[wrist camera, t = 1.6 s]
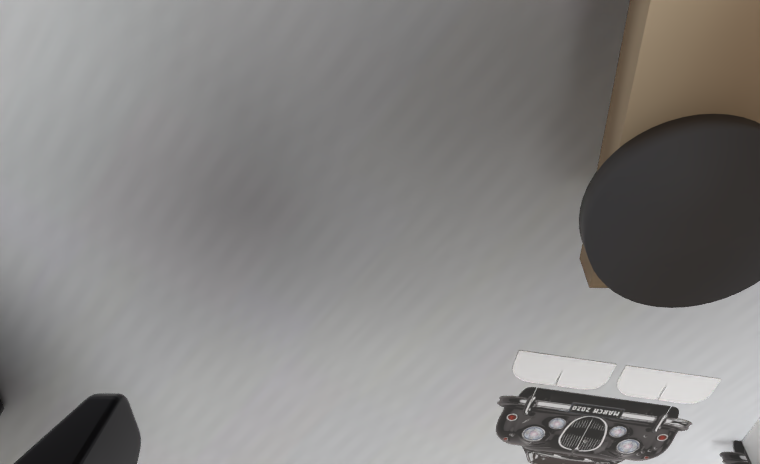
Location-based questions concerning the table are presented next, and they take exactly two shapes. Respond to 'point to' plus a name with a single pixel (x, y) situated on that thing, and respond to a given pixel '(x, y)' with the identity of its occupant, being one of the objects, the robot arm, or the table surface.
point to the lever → (679, 157)
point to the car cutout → (603, 413)
